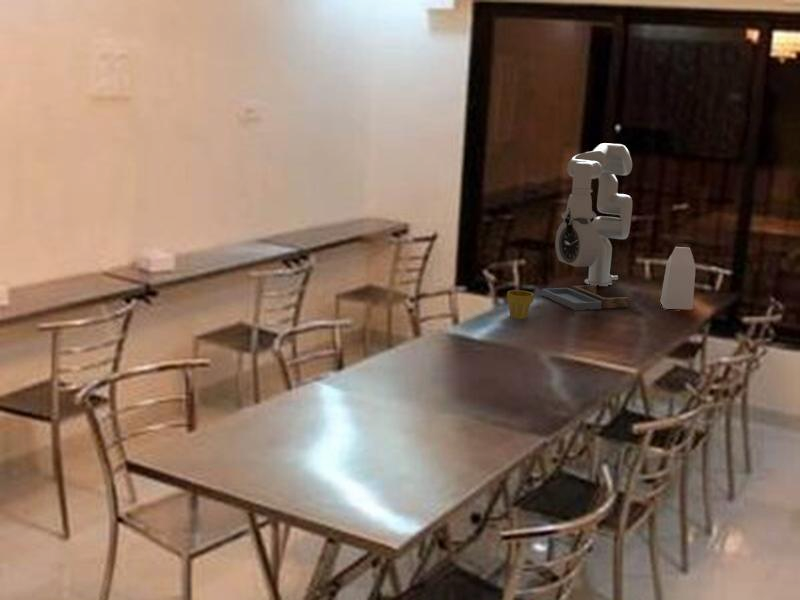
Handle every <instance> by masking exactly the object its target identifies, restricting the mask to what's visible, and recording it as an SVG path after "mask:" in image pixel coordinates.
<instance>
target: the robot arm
mask: <svg viewBox="0 0 800 600" xmlns="http://www.w3.org/2000/svg"><path fill="white" fill-rule="evenodd" d="M630 154H631V153H630V151H629V150H628V148H627V147H626V145H624V144H621V143H606V142H604V143H600V144H598V145H596V147H594V148H593V150H592V151H586V152H582V153H579V154H576V155H574V156H573V157H572V158H571V159H570V160H569V161H568V163H567V174H568V175H569V176H570V177H571V178H572V187H571V194H569V197H568V200H567V204H566V209H565V211H564V212H563V213H561V214H560V216H561V218H562V220H563V222H564V221H565V223H566V224H567V226H566V233H568V234H572V225H571V224H572V222H573V220H574V219H578V218H585V219H586V220H588V221H590V222H591V223H592V224H593V226H594V227H595V229H596V232H597V235H598V254H597V257H596V260H595V262H594V263H593V265H592V266H588V267H589V268H588V278H586V279H584V283H585V284H586V285H589V284H590V285H599V286H598V287H609V286H608V285H611V286H612V285H613V282H612V281H613V280H615V281H616V280H619V276H618V275H612V274H611V273H610V272H611V263H612V253H613V247H612V246H613V245H612V244H611V241H610V239H616V240H626V239H627V238H628V237H629V234H630V230H631V229H630V228H631V223H632V213H633V199H632V197H631V196H630V195H628V194H624V193H618V188H619V181H618V179H617V177H616V176H617V175H618V176H628V175H629V174H631V172H632V169H633V161H632V157H631V155H630ZM596 179H598V191H597V201H596V208H597V211H598V213H601V214H607V215H615V216H616V215H618V216H619V217H613V216H606V215H605V216H604V215H599V216H598V215H597V214H596V213H595V212H594V210H592V209H593V208H592V207H593V206H592V205H593V201H592V195H591V193H593V192H594V190H593V189H592V180H596Z"/></svg>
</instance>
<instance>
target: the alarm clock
mask: <svg viewBox="0 0 800 600" xmlns="http://www.w3.org/2000/svg"><path fill="white" fill-rule="evenodd" d="M571 225H572V234H568V233H566V226H567V224H566V223H565V221H564V220H563V221H562V222H561V223H560V225H559V227H558V228H557V231H556V235H555V240H554V241H555V247H554V248H555V253H556V256H557V260H558V261H559V262H561V263H565V264H567V265H570V266H572V267H576V268H581V267H583V268H585V267H589V266H592V265H593V263H594V262H595V260H596V257H597V254H598V235H597V232H596V229H595V227H594V226H593V224H592V222H590V221H588V220H586V219H585V218H578V219H574V220H573V222H572V224H571Z"/></svg>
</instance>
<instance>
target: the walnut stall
mask: <svg viewBox="0 0 800 600" xmlns="http://www.w3.org/2000/svg"><path fill="white" fill-rule="evenodd" d="M571 289H572V290H574V291H577V292H579V293H581V294H584V295H586V296H589V297H591V298H594V299H596V300H598V301H601V302H602V308H601V309H613V308H614V309H615V308H628V304H629V297H627V296H626V297H624V296H623V297H622V296H621V297H603V296H601V295H599V294H597V289H598V286H597V285H589V284H586V285H572V286H571Z"/></svg>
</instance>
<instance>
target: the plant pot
mask: <svg viewBox="0 0 800 600" xmlns="http://www.w3.org/2000/svg"><path fill="white" fill-rule="evenodd" d="M506 300H507V302H508V308H509V317H510V318H512V319H519V320H520V319H521V320H522V319H523V320H524V319H527V317H528V314H529V311H530V308H531V305H532V304H533V302H534V293H533V292H531V291H527V290H519V289H517V290H516V289H515V290H514V289H513V290H508V291H507V293H506Z"/></svg>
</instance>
